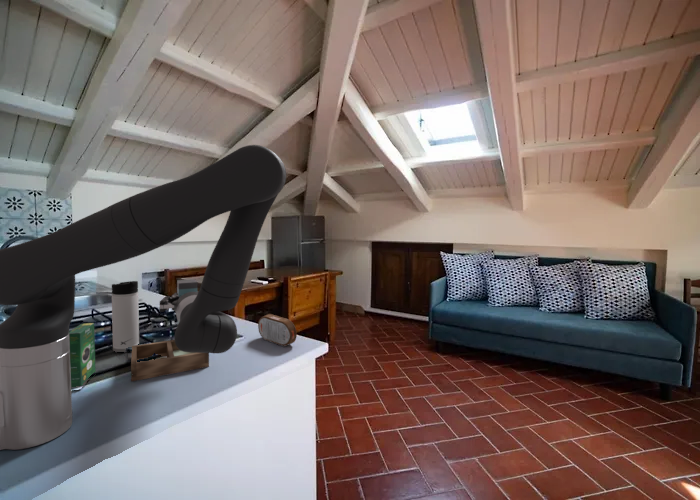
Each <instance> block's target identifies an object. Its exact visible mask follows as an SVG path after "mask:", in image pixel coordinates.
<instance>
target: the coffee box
mask: <svg viewBox="0 0 700 500" xmlns="http://www.w3.org/2000/svg"><path fill="white" fill-rule="evenodd" d="M95 339H96V338H95V322H87V323H86V322H85V323H80V324H79V325H77V326H75V327H74V328H73V329H71V330H69V341H70V369H71V387H76V386H82V385H83V383H84V382H85V381H86V380H87V379H88V378H89V377H90V376H91V375H92V374H93V373H94V372H95V373H96V346H95V345H96V344H95V343H96V341H95Z"/></svg>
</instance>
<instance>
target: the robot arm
mask: <svg viewBox="0 0 700 500" xmlns="http://www.w3.org/2000/svg"><path fill="white" fill-rule="evenodd" d="M286 179H287V170H286V167H285V163H284V162H283V161H282V159H281V157H280V156H279V155H278V154H276V153H275V152H274V151H273V150H271V149H270V148H268V147H266V146H263V145H258V144H249V145H245V146H242V147H240V148H237V149H235V150H234V151H232V152H231V153H229V154H227V155H226V156H224V157H223V158H221V159H219V160H218V161H215V162H214V163H212V164H210V165H208V166H207V167H205V168H203V169H201V170H199V171H197V172H195V173H193V174H190V175H188V176H186V177H183V178H180V179H176V180H173V181H170V182H166V183H163V184H160V185H158V186H155V187H152V188H149V189H147V190H144V191H142V192H139V193H136V194H133V195H132V196H129V197H127V198H124V199H122V200H120V201H117V202H115V203H113V204H111V205H109V206H107V207H104V208H103V209H101V210H99V211H96V212H94V213H91V214H89V215H87V216H85V217H83V218H81V219H79V220H76V221H75V222H73V223H70V224H69V225H66V226H65V227H63V228H60V229H58V230H56V231H53V232H51V233H49V234H46V235H43V236H40V237H37V238H34V239H31V240H29V241H25V242H21V243H19V244H15V245H12V246H8V247H4V248H1V249H0V305H1V306H16V305H17V306H16V308H15V309H14V311H13V312H12V313H11V315H9V317H7V318H6V319H5V320H4V321H2V322H1V323H0V451H2V450H12V451H14V450H23V449H29V448H32V447H36V446H40V445H43V444H45V443H47V442H50V441H53V440H54V439H56V438H58V437H59V436H61V435H63V434H64V433H66V432H67V431H68V430H69V429H70V428H71V427H72V424H73V405H72V404H73V401H72V399H73V398H72V391H71V369H70V341H69V332H70V324H71V322H72V320H73V319H74V315H75V303H76V299H75V298H76V275H78V274H80V273H84V272H87V271H91V270H93V269H94V270H95V269H98V268H102V267H103V268H104V267H106V266H111V265H113V264H118V263H120V262H125V261H127V260H130V259H133V258H136V257H138V256H141V255H144V254H147V253H149V252H152V251H155V250H156V249H159V248H161V247H163V246H166V245H168V244H170V243H172V242H173V241H176V240H177V239H180V238H181V237H183V236H184V235H187V234H188V233H190V232H191V231H193V230H195V229H196V228H197V227H198V228H199V226H201V225H203V224H204V223H205V222H207V221H209V220H211V219H213V218H215V217H217V216H220V215H223V214H225V213H229V214H228V218H227V220H226V222H225V224H224V227H223V230H222V231H221V234H220V236H219V238H218V240H217V243H216V244H215V246H214V249H213V250H212V253H211V254H210V257H209V261H208V262H207V265H206V267H205V268H206V269H205V272H204V275H203V279H202V280H201V281H202V282H201V284H200V288H199V291H198V290H197V292H188V293H185V294H183V295H178V293H177V292H174V293H173V294H172V295H171V296H170V295H166V296H164V297H163V298H161V300H159V312H160V313H164V312H166V311H169V309H171V310H172V311H174V313H175V316H176V319H177V320H176V321H177V322H178V321H179V324H178V323H177V325H176V329H175V332H174V339H173V340H175V343H176V346H177V347H178V349H180V350H181V351H184V352H197V353H209V354H223V353H226V352H228V351H229V350H231V349H232V347H233V346H234V344H235V343H236V340H237V336H238V329H237V325H236V322H235V320H234V319H233V318H232V317H231V316H230V315H229V314H226V313H224V311H229V310H232V309H234V308H235V307H236V305H237V304H238V303H239V302H238V301H239V299H240V296H241V293H242V289H243V287H244V284H245V281H246V278H247V275H248V272H249V269H250V265H251V262H252V258H253V255H254V251H255V248H256V245H257V242H258V240H259V235H260V233H261V230H262V227H263V225H264V223H265V221H266V218H267V216H268V214H269V212H270V209H271V207H272V206H273V205H274V202H275V200H276V199H277V197H278V195H279V194H280V193H281V191H282V190H283V188H284V187H285V184H286V181H287V180H286Z"/></svg>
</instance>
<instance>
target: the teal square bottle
mask: <svg viewBox="0 0 700 500" xmlns="http://www.w3.org/2000/svg"><path fill="white" fill-rule="evenodd" d="M176 281H177V282H176V286H177V287H176V291H177V292H176V293H178V295H183V294H185V293H188V292H197V291H198V281H197V280H196V279H195V278H194V279H182V280H181V279H180V280H179V279H177V280H176ZM178 324H179V321H178V320H177V325H178Z"/></svg>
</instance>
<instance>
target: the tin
mask: <svg viewBox="0 0 700 500" xmlns="http://www.w3.org/2000/svg"><path fill="white" fill-rule="evenodd" d="M257 326H258V328H257V329H258V333H259V335H260V336H261V337H262V339H263V340H265V341H267V342H271V343H273V344H276V345H278V346H282V347H286V346H289V345H292V344H294V343H295V341H296V339H297V333H298V332H297V328H296V326H295V324H294V322H292V320H290V319H288V318H285V317H283V316H282V317H281V316H279V315H276V314H275V315H274V314H272V313H267V314H266V315H264V316H263V315H262V316H261V317H260V318H259V319H258V323H257Z"/></svg>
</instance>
